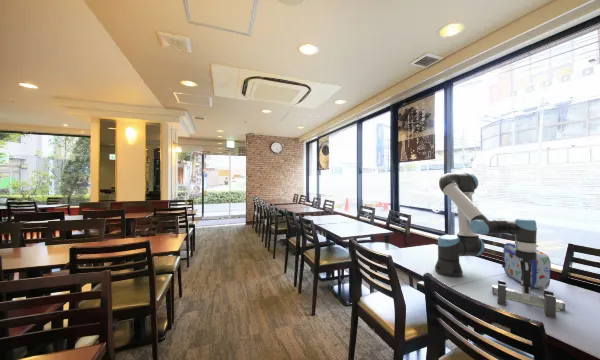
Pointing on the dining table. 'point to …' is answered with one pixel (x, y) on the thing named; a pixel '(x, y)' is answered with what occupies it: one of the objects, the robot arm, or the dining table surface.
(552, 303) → the post right
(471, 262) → the dining table surface
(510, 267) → the lunch box
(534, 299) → the rail
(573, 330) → the dining table surface
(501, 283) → the post left
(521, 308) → the dining table surface
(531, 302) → the mat
